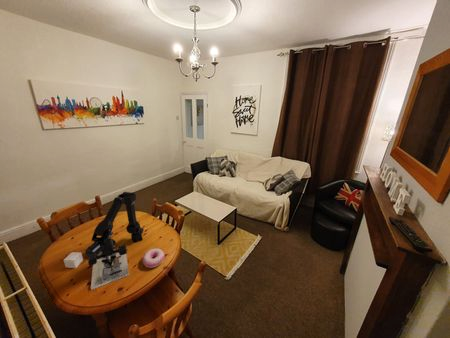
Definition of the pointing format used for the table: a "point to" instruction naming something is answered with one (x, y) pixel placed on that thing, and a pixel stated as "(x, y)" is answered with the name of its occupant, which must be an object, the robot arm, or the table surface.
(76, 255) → the white cube
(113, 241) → the black sponge
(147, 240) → the table surface
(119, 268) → the panel
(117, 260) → the breaker
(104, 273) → the breaker
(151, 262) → the donut
